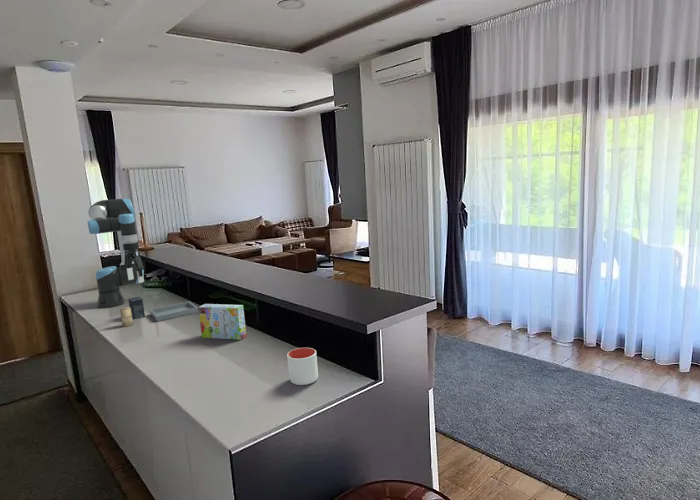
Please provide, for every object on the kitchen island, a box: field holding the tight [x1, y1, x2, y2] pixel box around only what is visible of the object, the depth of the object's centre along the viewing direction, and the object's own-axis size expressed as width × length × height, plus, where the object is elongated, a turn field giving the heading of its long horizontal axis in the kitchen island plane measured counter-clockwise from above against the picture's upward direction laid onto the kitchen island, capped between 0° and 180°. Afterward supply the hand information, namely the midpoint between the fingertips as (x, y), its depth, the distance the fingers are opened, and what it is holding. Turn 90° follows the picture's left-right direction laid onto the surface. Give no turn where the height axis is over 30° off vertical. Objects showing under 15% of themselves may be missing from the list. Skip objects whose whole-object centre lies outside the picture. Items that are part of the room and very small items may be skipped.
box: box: [127, 296, 146, 320], centre depth 247 cm, size 8×6×11 cm
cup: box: [286, 347, 319, 386], centre depth 155 cm, size 10×10×10 cm
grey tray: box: [149, 301, 199, 323], centre depth 249 cm, size 18×22×3 cm
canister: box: [119, 306, 134, 328], centre depth 233 cm, size 5×5×9 cm
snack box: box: [197, 303, 247, 341], centre depth 204 cm, size 21×6×15 cm, turn 71°
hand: (136, 281), depth 244 cm, fingers open, 13 cm apart
